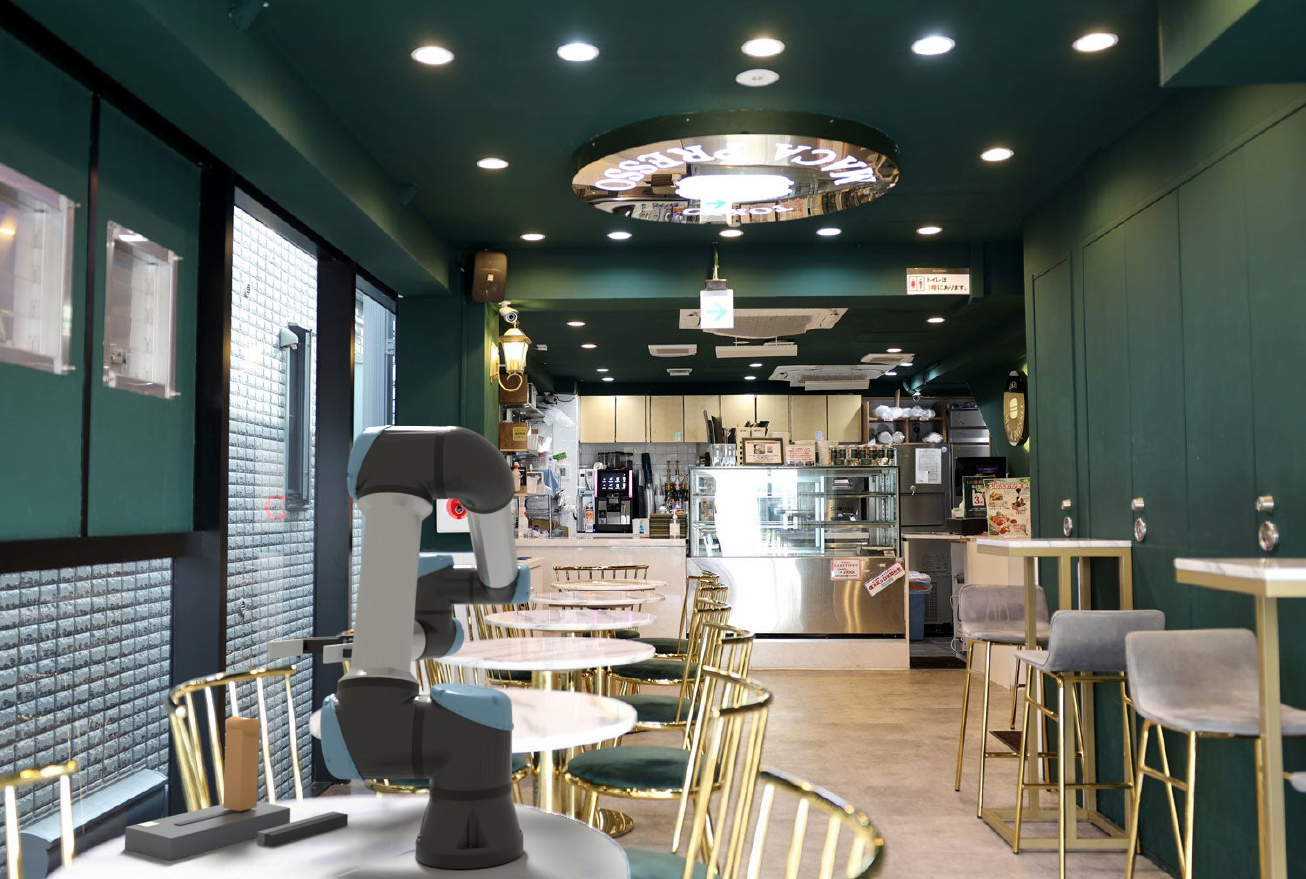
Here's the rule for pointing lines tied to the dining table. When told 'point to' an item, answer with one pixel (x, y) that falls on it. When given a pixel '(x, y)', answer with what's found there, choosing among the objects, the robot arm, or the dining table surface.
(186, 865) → the dining table surface
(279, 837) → the grooved grey bar
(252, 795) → the handle
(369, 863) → the dining table surface
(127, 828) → the base
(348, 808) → the dining table surface
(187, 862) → the dining table surface
